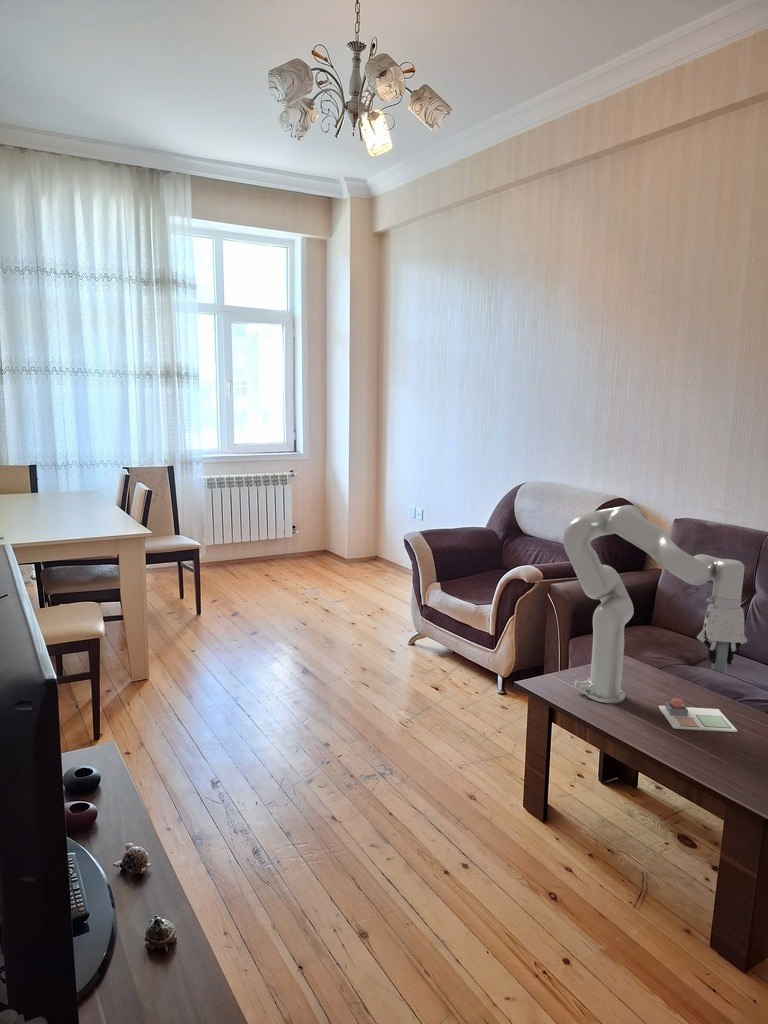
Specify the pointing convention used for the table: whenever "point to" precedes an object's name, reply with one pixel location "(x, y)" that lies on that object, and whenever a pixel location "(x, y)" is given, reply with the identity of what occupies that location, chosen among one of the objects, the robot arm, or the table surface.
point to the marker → (721, 656)
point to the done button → (677, 703)
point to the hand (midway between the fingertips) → (719, 661)
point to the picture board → (697, 718)
